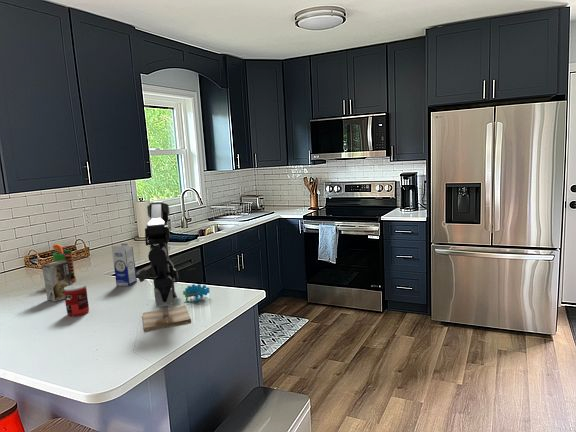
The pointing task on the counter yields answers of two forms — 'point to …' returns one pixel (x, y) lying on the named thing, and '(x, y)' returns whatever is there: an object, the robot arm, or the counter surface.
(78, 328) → the counter surface
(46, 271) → the coffee box
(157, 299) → the grey box with handle
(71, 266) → the multicoloured piece
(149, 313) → the plate
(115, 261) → the milk carton
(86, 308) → the canned food
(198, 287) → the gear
